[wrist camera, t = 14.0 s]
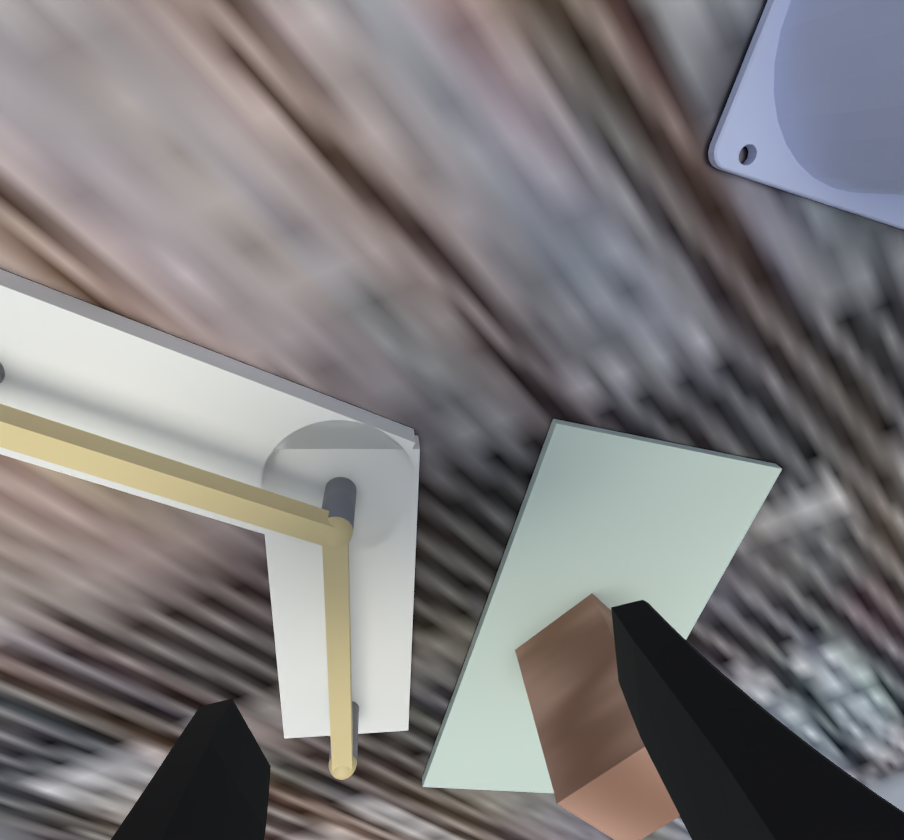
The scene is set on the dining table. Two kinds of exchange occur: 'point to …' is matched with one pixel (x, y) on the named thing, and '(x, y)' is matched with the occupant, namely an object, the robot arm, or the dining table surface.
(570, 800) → the rust block
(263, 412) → the wire track
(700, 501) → the end mat
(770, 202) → the dining table surface
